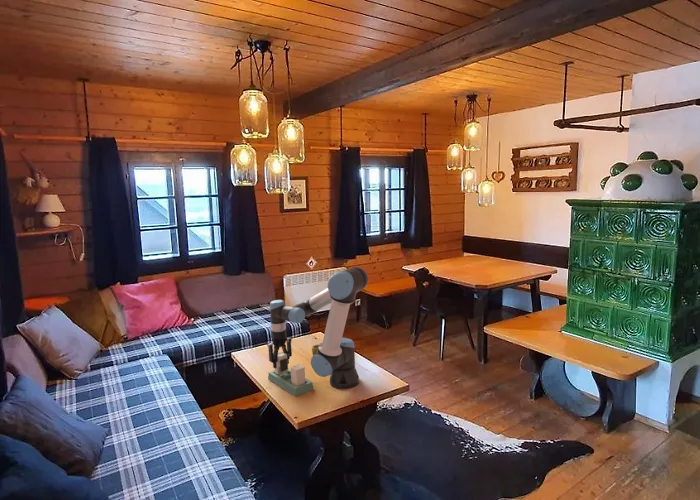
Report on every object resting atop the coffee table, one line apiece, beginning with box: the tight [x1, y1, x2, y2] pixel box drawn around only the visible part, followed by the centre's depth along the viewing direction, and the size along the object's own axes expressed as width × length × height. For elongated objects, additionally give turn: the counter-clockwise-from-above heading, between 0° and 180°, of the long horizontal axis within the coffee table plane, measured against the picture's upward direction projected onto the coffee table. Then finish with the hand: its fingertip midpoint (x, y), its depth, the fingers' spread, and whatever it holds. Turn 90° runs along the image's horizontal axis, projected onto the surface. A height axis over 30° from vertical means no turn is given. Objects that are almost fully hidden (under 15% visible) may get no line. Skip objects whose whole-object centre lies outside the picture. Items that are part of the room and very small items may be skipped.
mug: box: [311, 343, 320, 356], centre depth 256 cm, size 12×10×10 cm
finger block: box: [277, 351, 289, 375], centre depth 230 cm, size 6×5×10 cm
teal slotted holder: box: [267, 363, 315, 398], centre depth 224 cm, size 26×11×12 cm, turn 40°
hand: (281, 371), depth 231 cm, fingers closed on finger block, 5 cm apart
